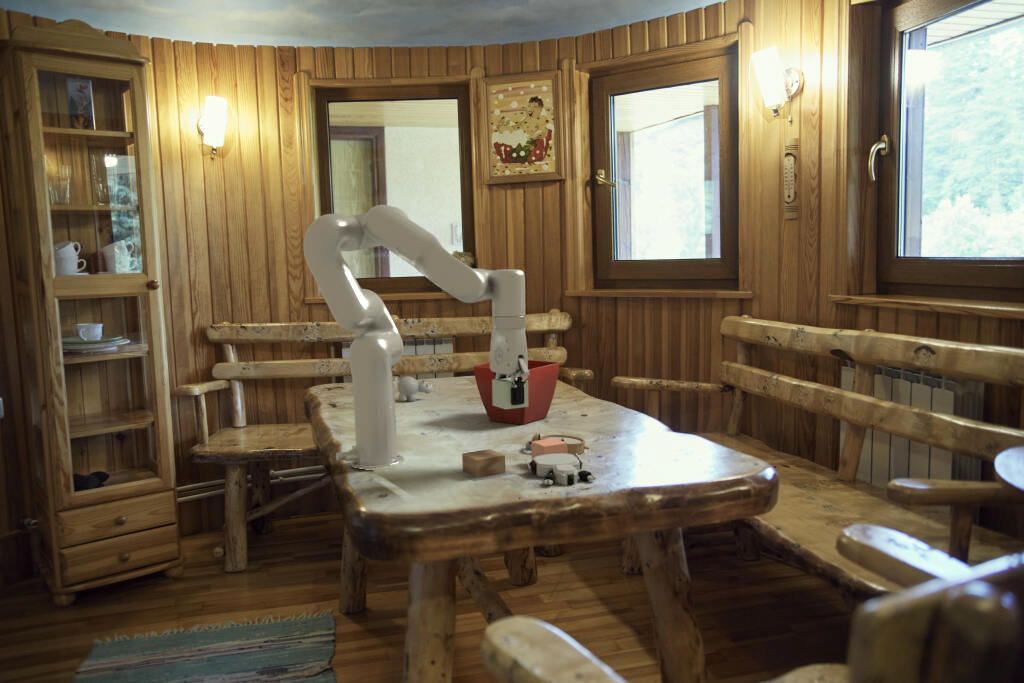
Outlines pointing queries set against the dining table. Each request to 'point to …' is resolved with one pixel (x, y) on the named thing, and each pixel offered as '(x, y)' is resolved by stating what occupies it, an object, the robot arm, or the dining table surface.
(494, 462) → the walnut block
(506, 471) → the build board
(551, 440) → the terracotta cube
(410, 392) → the round bodied animal figurine
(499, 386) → the sage cube
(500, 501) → the dining table surface
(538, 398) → the plant pot
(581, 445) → the alarm clock
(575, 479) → the robot toy
